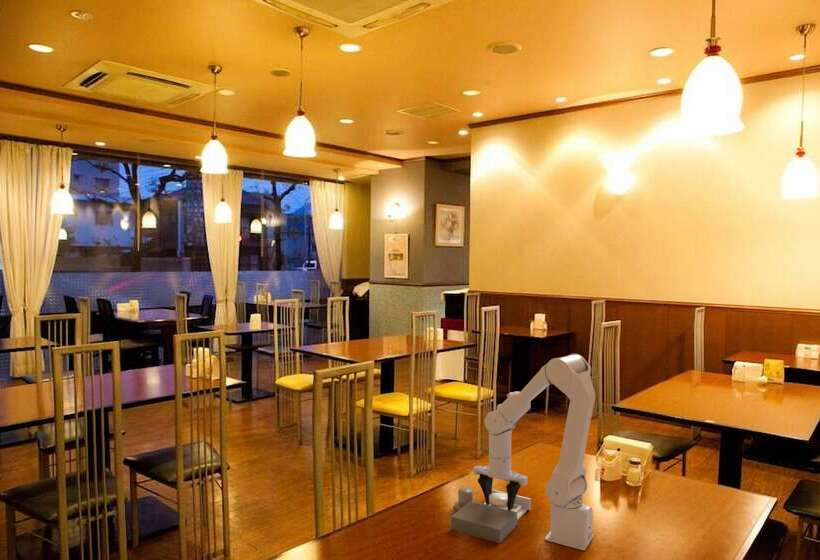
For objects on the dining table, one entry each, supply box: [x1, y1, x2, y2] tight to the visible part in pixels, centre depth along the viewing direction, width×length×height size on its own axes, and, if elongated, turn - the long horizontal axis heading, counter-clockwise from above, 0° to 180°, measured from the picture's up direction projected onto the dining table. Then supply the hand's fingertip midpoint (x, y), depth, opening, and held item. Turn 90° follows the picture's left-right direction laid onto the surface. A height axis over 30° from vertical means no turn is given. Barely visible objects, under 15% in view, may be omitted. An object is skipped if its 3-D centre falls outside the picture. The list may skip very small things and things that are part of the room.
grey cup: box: [454, 486, 474, 511], centre depth 156 cm, size 6×6×5 cm
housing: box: [450, 500, 518, 545], centre depth 144 cm, size 13×11×3 cm
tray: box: [482, 488, 532, 521], centre depth 153 cm, size 13×11×3 cm
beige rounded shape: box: [489, 493, 508, 508], centre depth 152 cm, size 6×6×2 cm
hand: (499, 506), depth 152 cm, fingers closed on beige rounded shape, 6 cm apart
